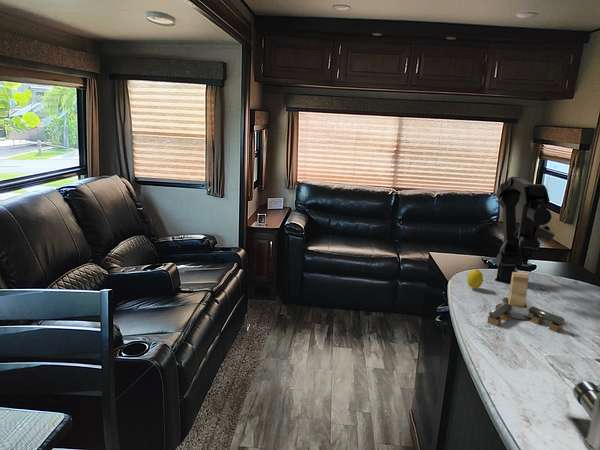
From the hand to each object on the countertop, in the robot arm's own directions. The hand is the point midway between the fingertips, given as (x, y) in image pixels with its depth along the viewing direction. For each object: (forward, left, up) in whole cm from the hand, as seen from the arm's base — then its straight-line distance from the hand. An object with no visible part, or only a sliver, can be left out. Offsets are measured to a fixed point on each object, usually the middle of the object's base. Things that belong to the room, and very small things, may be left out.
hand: (523, 260), depth 164 cm
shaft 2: (+14, -23, -13) cm, 30 cm away
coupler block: (+4, -19, -12) cm, 23 cm away
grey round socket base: (+4, -19, -13) cm, 23 cm away
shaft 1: (+2, -29, -13) cm, 32 cm away
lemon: (-14, -7, -13) cm, 20 cm away
